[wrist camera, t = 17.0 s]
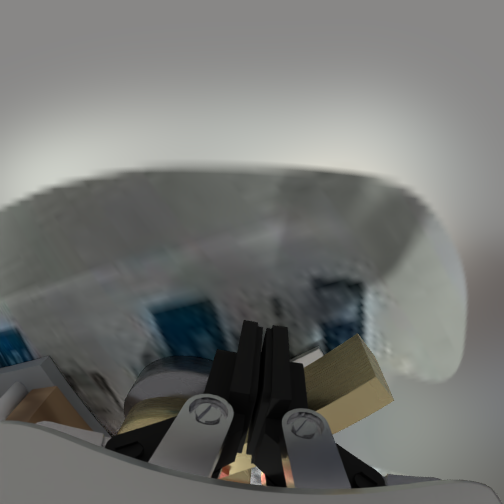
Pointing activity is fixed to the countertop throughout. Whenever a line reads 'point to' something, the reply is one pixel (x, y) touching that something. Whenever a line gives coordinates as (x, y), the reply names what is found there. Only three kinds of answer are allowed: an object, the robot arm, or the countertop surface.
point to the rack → (34, 377)
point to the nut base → (184, 377)
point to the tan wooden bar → (47, 409)
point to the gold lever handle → (318, 397)
